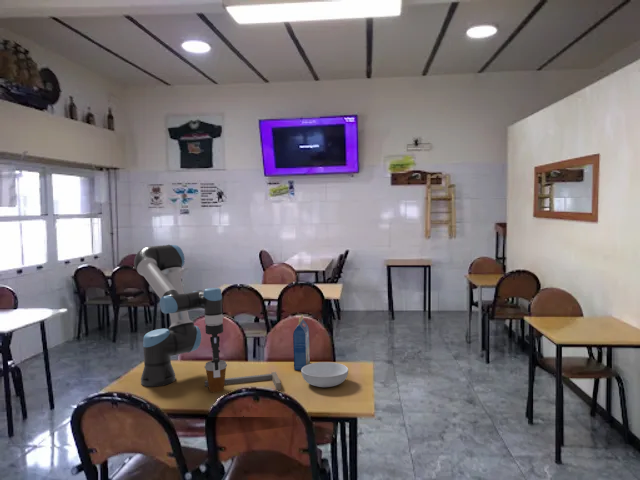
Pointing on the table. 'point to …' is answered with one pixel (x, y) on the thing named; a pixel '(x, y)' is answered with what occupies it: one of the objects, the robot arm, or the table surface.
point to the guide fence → (254, 379)
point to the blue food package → (301, 345)
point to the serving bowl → (324, 374)
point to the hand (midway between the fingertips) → (216, 372)
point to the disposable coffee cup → (217, 382)
